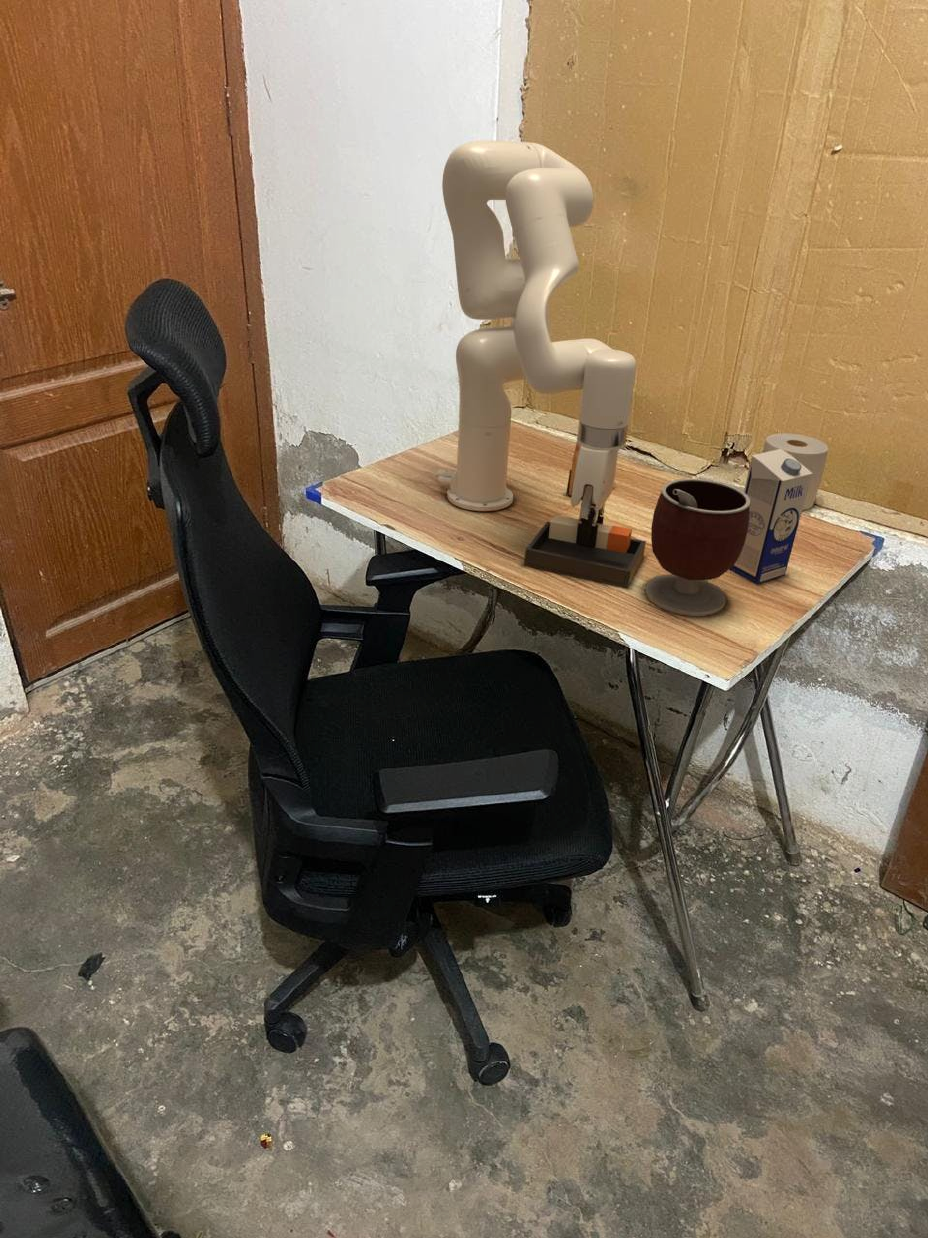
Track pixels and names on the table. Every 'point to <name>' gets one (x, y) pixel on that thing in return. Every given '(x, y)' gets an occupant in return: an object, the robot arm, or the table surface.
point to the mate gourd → (696, 543)
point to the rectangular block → (606, 534)
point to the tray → (584, 559)
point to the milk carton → (772, 514)
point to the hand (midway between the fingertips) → (588, 540)
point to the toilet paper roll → (802, 457)
